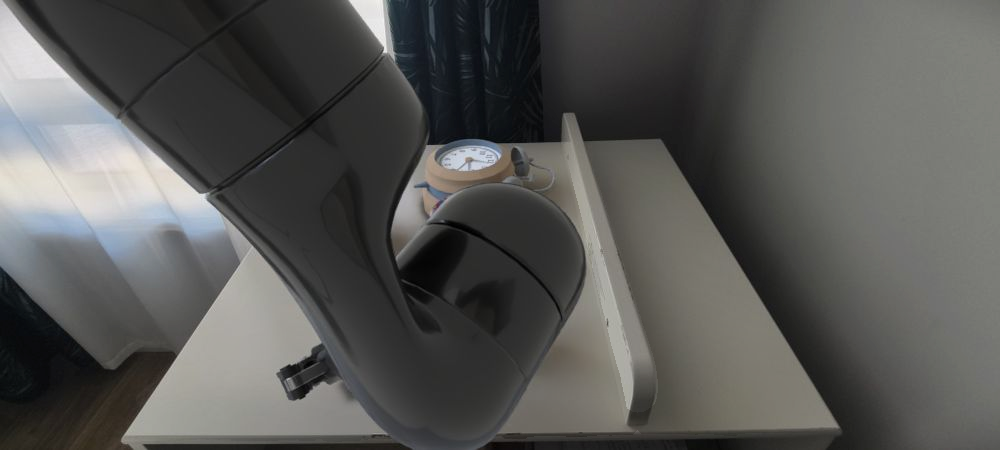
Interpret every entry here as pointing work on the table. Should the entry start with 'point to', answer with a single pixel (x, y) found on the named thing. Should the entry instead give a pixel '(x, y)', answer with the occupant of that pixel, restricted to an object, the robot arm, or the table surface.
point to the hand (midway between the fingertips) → (354, 346)
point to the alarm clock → (473, 168)
